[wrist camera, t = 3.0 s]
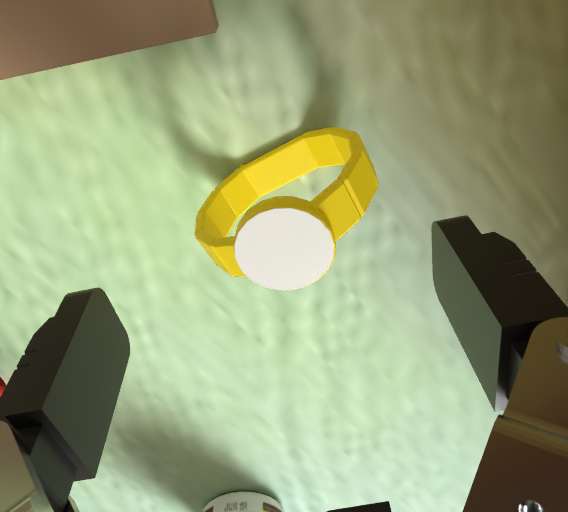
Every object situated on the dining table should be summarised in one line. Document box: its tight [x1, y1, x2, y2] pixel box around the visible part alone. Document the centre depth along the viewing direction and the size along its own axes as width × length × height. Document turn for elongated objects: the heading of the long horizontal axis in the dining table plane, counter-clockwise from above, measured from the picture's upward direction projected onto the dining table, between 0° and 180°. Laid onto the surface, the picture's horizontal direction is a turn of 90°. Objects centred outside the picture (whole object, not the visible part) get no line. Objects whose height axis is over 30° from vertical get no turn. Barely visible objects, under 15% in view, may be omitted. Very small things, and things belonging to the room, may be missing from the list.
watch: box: [195, 127, 378, 290], centre depth 15 cm, size 6×3×6 cm, turn 118°
